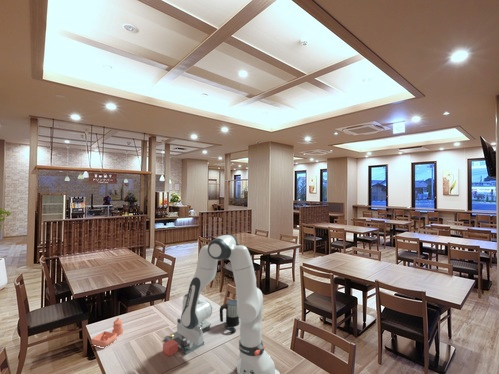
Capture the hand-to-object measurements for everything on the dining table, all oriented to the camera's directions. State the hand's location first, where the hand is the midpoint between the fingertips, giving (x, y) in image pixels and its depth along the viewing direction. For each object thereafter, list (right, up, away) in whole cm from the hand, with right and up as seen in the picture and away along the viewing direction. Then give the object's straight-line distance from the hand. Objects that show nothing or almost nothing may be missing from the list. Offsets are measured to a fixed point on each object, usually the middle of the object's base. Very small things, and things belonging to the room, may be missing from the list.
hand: (189, 346), depth 146 cm
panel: (-5, -3, +9) cm, 11 cm away
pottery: (-51, -3, +11) cm, 53 cm away
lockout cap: (-11, -3, -1) cm, 11 cm away
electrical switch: (+6, -4, +20) cm, 21 cm away
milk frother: (+22, -4, +27) cm, 35 cm away
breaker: (-4, -1, +3) cm, 5 cm away
